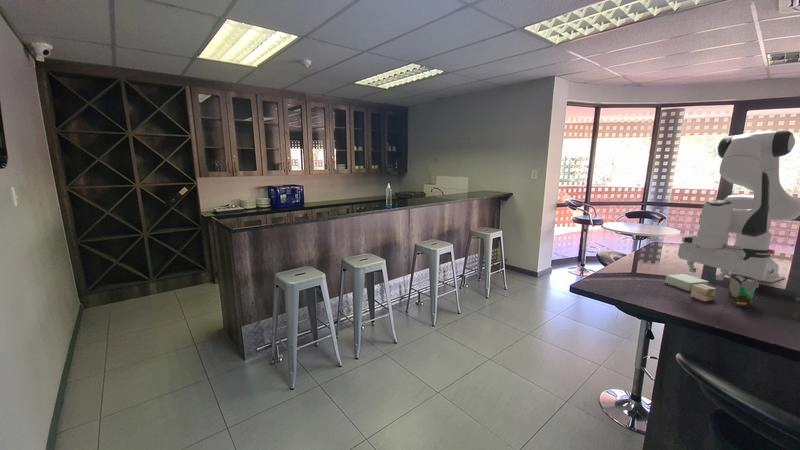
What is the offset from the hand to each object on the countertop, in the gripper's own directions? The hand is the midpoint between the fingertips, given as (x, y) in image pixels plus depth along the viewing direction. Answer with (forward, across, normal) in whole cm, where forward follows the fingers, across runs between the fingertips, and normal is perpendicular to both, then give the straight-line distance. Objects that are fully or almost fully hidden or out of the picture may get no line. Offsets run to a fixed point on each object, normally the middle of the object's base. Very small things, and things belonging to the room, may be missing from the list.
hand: (705, 275), depth 125 cm
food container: (+10, -7, -11) cm, 16 cm away
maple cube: (+10, 0, -1) cm, 10 cm away
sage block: (+10, +12, -8) cm, 18 cm away
